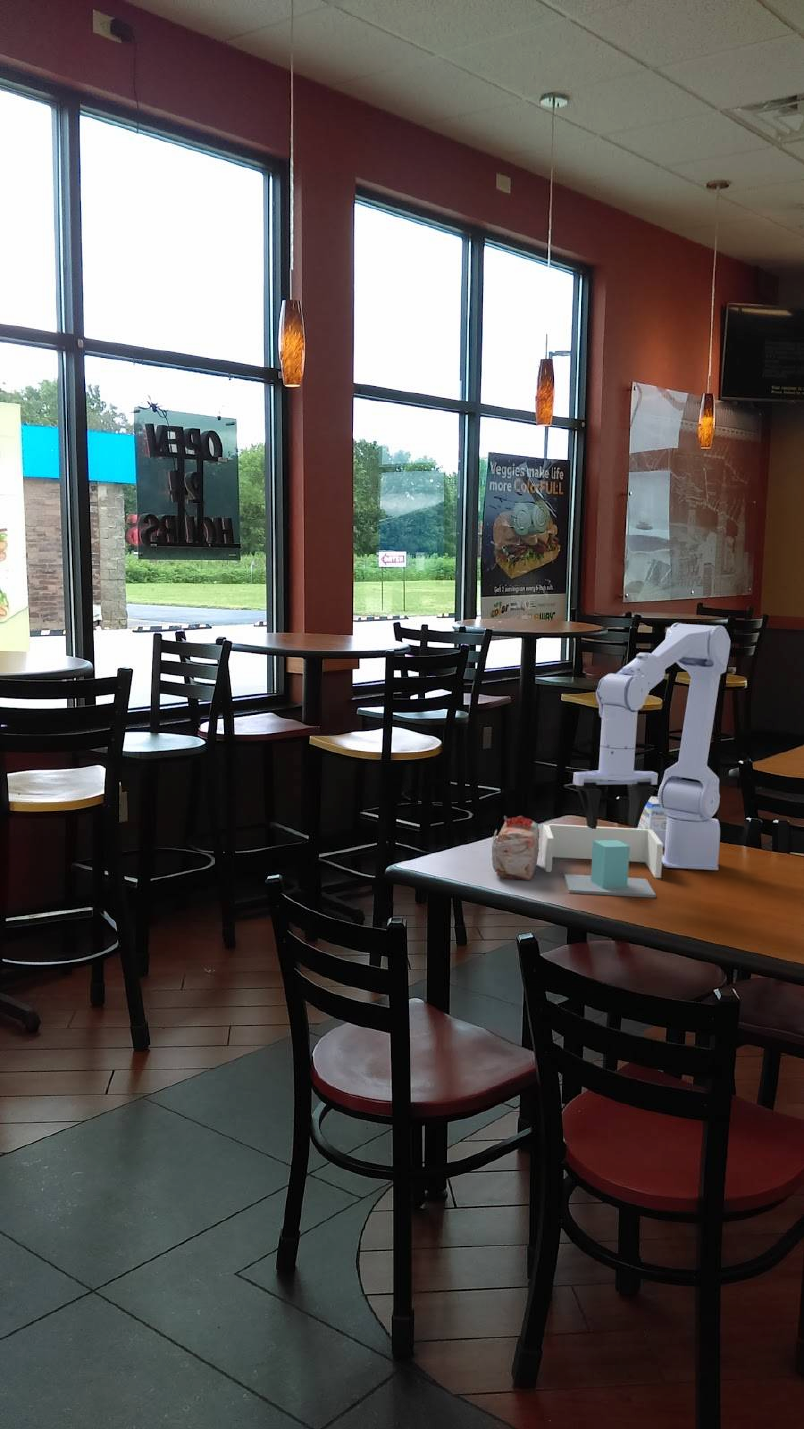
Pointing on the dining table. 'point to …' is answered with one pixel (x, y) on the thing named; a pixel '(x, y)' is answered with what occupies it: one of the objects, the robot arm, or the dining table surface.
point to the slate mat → (585, 886)
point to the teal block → (610, 863)
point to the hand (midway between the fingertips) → (612, 827)
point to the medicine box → (654, 819)
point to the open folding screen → (580, 839)
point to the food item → (516, 848)
